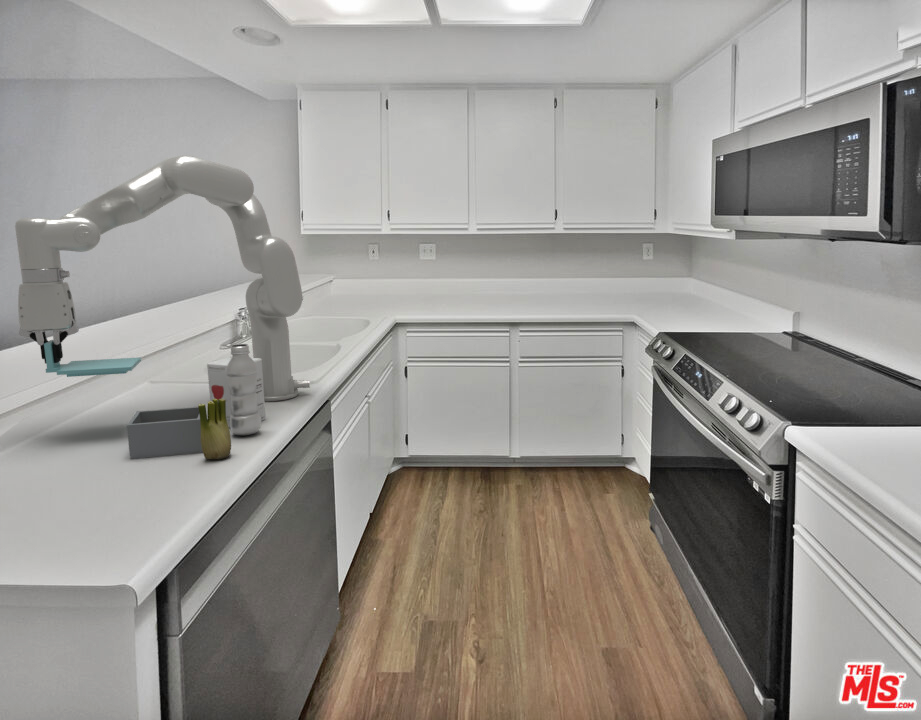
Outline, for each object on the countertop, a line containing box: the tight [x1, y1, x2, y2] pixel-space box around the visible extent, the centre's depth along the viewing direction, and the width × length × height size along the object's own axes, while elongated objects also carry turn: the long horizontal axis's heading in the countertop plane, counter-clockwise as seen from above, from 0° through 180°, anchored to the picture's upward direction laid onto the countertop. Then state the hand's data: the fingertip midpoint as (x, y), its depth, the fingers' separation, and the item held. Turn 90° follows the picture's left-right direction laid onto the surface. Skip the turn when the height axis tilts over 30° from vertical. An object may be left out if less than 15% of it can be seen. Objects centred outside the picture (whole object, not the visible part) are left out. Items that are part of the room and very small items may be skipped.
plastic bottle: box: [226, 343, 262, 436], centre depth 158 cm, size 6×7×20 cm
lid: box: [44, 339, 142, 378], centre depth 158 cm, size 18×12×7 cm, turn 104°
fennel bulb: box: [197, 399, 232, 461], centre depth 143 cm, size 6×5×12 cm
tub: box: [126, 405, 207, 460], centre depth 151 cm, size 14×11×7 cm
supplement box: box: [206, 355, 266, 429], centre depth 168 cm, size 9×9×15 cm
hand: (52, 361), depth 157 cm, fingers closed on lid, 1 cm apart
